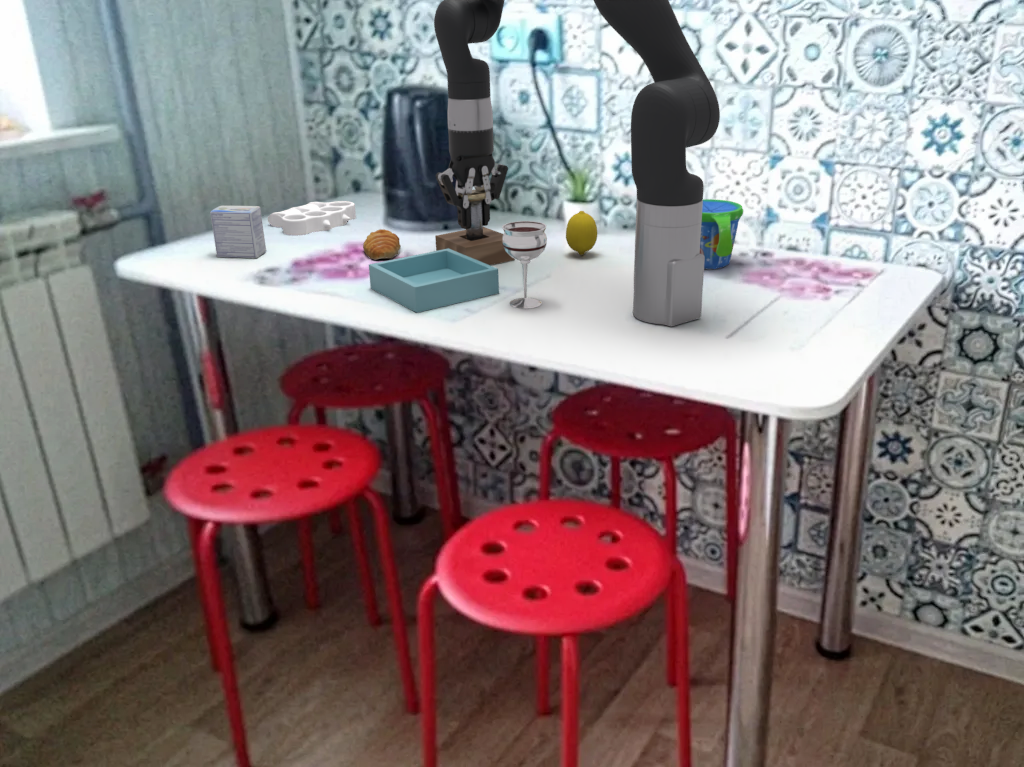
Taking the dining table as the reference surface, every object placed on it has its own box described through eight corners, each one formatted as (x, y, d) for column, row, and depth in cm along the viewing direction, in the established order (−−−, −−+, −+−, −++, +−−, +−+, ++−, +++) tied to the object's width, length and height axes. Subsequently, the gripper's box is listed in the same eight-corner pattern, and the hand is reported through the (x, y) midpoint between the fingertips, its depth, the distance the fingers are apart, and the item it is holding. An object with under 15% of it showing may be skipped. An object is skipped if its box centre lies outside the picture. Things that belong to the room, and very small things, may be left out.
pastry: (403, 261, 172) (401, 240, 170) (364, 264, 171) (362, 242, 169) (399, 247, 180) (398, 226, 179) (363, 249, 179) (361, 229, 178)
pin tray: (499, 293, 153) (498, 268, 152) (416, 312, 146) (415, 287, 144) (449, 271, 165) (448, 248, 163) (370, 288, 157) (368, 264, 155)
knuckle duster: (320, 212, 207) (371, 220, 200) (256, 231, 194) (309, 240, 186) (318, 196, 206) (370, 204, 198) (254, 214, 192) (307, 223, 185)
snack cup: (667, 252, 172) (669, 196, 168) (725, 250, 173) (729, 194, 169) (686, 279, 158) (689, 218, 154) (749, 277, 158) (754, 215, 154)
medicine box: (267, 252, 178) (261, 205, 174) (257, 259, 174) (251, 211, 170) (227, 251, 179) (220, 204, 176) (216, 257, 175) (209, 210, 172)
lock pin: (492, 249, 170) (490, 192, 166) (471, 253, 167) (469, 196, 163) (478, 244, 173) (476, 188, 169) (457, 248, 171) (455, 192, 167)
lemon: (585, 261, 168) (586, 216, 165) (559, 256, 171) (559, 212, 168) (602, 254, 172) (603, 209, 169) (577, 249, 175) (577, 205, 172)
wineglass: (550, 297, 151) (550, 221, 146) (543, 311, 145) (542, 233, 140) (508, 295, 152) (506, 220, 148) (499, 309, 146) (497, 231, 141)
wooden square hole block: (514, 259, 170) (514, 237, 168) (466, 270, 165) (465, 247, 163) (483, 247, 178) (482, 226, 176) (436, 257, 172) (435, 235, 171)
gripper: (446, 132, 155) (451, 237, 162) (517, 123, 163) (519, 224, 169) (422, 127, 161) (428, 229, 168) (492, 118, 168) (495, 216, 175)
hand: (474, 226), depth 169 cm, fingers closed on lock pin, 3 cm apart
